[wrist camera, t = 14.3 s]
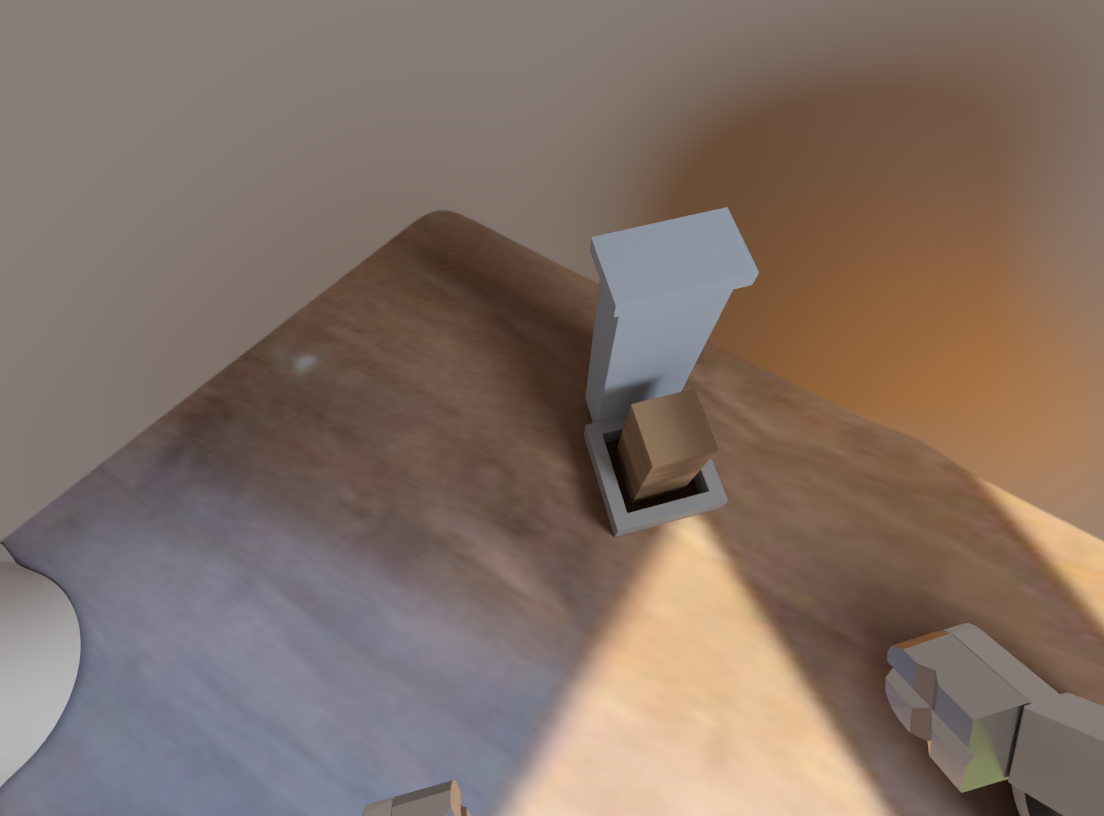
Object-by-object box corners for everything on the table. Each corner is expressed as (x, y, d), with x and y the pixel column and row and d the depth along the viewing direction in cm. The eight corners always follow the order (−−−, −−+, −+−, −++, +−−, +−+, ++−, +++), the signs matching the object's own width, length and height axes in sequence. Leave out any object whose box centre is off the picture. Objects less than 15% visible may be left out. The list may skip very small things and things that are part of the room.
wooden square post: (631, 504, 41) (652, 466, 32) (614, 454, 43) (631, 404, 33) (682, 490, 42) (718, 449, 32) (664, 441, 43) (694, 388, 34)
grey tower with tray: (614, 537, 40) (659, 461, 23) (571, 396, 44) (581, 239, 27) (718, 508, 41) (840, 413, 23) (666, 372, 45) (736, 205, 28)
